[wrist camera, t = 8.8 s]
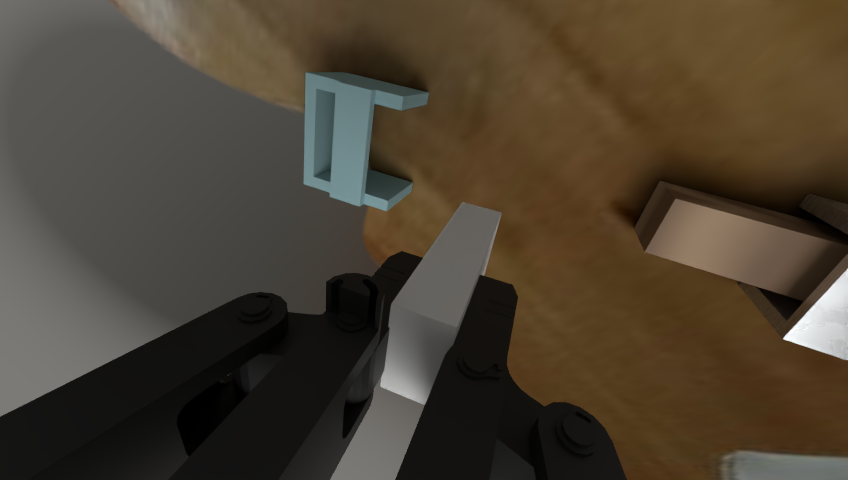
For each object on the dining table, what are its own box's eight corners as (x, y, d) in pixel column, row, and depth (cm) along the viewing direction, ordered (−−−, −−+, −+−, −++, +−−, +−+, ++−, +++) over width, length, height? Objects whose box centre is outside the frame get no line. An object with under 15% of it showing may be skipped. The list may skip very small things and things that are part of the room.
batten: (633, 226, 25) (644, 251, 21) (659, 179, 23) (675, 198, 19) (835, 286, 22) (885, 326, 19) (881, 238, 20) (945, 272, 17)
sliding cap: (338, 169, 30) (298, 186, 26) (344, 72, 26) (299, 72, 22) (411, 191, 29) (383, 214, 24) (428, 92, 25) (399, 97, 20)
